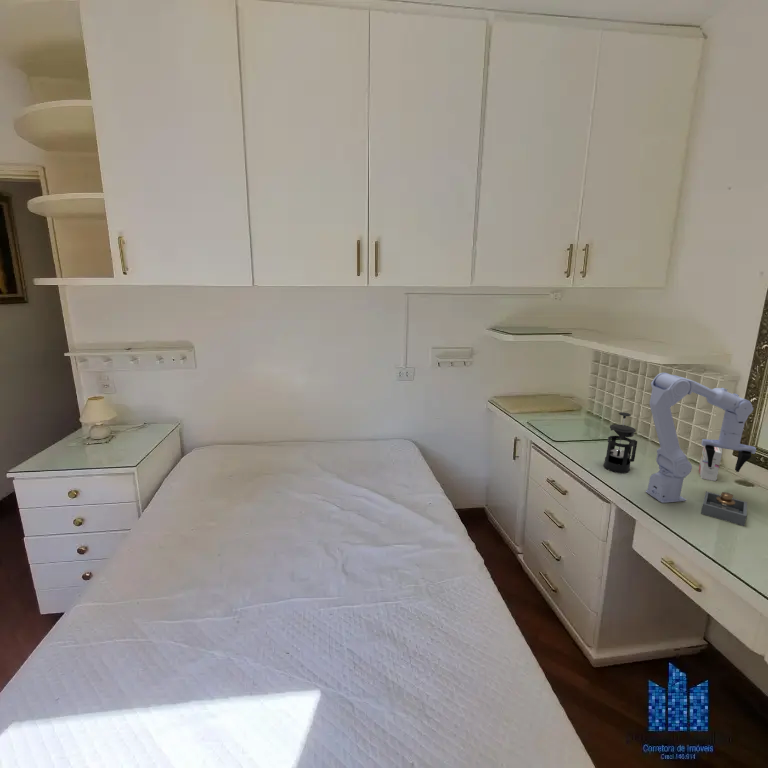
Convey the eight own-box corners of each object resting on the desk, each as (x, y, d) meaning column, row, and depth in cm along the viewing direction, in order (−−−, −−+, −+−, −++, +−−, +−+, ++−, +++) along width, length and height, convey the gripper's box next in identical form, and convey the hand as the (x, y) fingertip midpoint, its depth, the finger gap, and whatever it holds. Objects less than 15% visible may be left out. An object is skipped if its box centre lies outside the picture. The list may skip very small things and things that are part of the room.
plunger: (737, 520, 137) (741, 503, 135) (707, 512, 141) (711, 495, 140) (738, 511, 142) (742, 493, 141) (709, 503, 147) (713, 486, 145)
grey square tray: (744, 526, 134) (746, 516, 133) (700, 513, 141) (702, 503, 140) (744, 511, 143) (747, 502, 142) (703, 500, 149) (705, 491, 148)
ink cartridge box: (697, 469, 172) (705, 435, 169) (713, 472, 170) (720, 437, 166) (700, 478, 165) (708, 442, 161) (716, 481, 163) (724, 445, 159)
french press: (610, 473, 168) (618, 417, 162) (596, 463, 177) (604, 409, 172) (639, 472, 169) (648, 417, 163) (624, 462, 178) (633, 409, 172)
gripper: (755, 431, 147) (746, 468, 150) (703, 424, 153) (695, 459, 157) (761, 438, 141) (751, 476, 144) (706, 430, 147) (698, 467, 151)
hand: (722, 468), depth 150 cm, fingers open, 7 cm apart
